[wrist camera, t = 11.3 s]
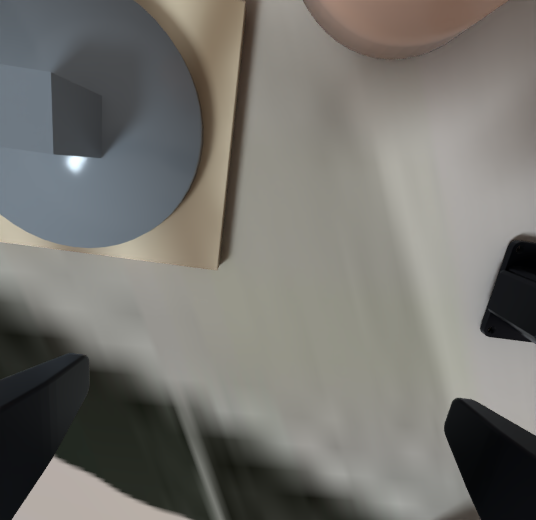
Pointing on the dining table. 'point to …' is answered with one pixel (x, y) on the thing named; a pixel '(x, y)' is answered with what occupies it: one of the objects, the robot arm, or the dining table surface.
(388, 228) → the dining table surface
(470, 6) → the bowl
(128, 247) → the board
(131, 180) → the lid
